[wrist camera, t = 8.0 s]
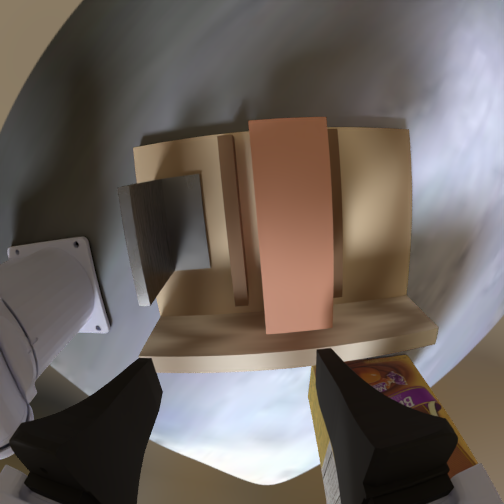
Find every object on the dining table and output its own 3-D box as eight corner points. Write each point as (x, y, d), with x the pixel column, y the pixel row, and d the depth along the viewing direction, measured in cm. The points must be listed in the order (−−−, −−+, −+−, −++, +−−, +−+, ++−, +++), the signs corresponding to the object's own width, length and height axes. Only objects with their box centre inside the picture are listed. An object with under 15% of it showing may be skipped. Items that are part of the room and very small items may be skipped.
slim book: (262, 277, 20) (266, 334, 13) (250, 136, 17) (248, 120, 11) (308, 273, 20) (332, 327, 13) (300, 133, 17) (326, 117, 11)
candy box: (408, 349, 23) (494, 482, 8) (396, 385, 24) (461, 515, 10) (310, 357, 23) (351, 534, 8) (305, 396, 24) (332, 554, 10)
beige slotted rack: (167, 324, 22) (143, 371, 17) (138, 148, 19) (96, 144, 13) (399, 303, 22) (435, 343, 16) (402, 130, 18) (450, 123, 12)
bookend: (167, 269, 20) (139, 306, 15) (154, 179, 18) (117, 187, 13) (210, 266, 20) (195, 303, 15) (199, 173, 18) (178, 178, 13)
